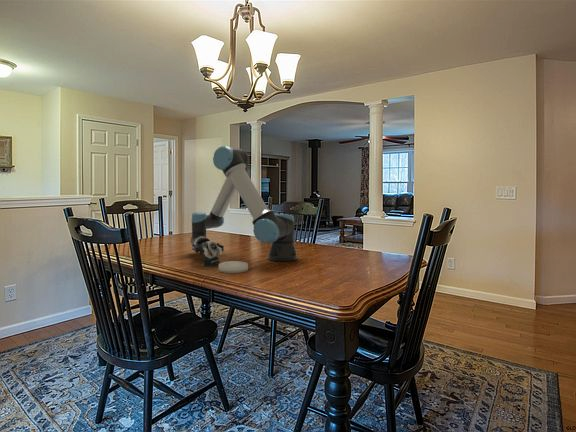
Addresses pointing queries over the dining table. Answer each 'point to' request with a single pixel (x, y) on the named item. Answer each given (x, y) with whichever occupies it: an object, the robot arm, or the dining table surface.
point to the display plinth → (233, 267)
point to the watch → (214, 249)
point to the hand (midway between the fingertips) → (213, 252)
